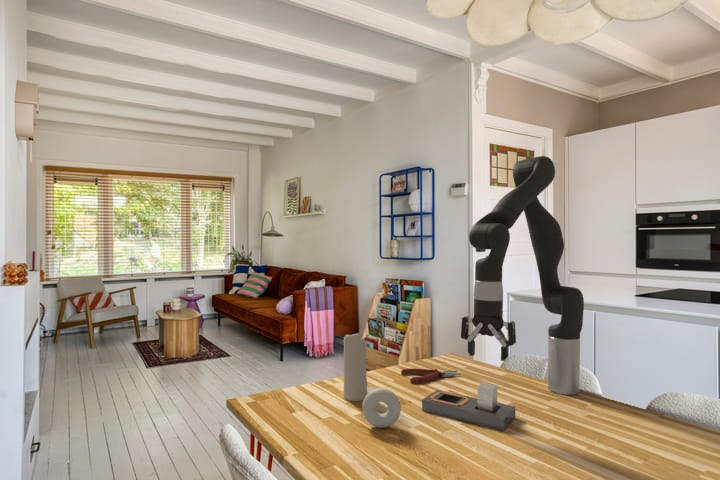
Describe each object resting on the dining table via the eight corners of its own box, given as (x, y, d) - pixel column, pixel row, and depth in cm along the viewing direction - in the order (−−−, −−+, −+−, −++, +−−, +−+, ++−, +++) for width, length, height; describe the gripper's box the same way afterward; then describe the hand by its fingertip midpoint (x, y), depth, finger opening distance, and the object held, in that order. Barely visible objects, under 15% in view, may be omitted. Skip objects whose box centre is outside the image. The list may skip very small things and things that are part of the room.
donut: (400, 425, 116) (401, 386, 116) (401, 430, 113) (401, 391, 113) (362, 423, 117) (362, 385, 117) (361, 429, 114) (361, 390, 114)
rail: (437, 399, 134) (437, 389, 134) (515, 417, 121) (515, 406, 121) (422, 410, 126) (422, 399, 126) (504, 430, 113) (504, 418, 113)
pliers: (467, 381, 153) (466, 373, 153) (411, 385, 148) (411, 378, 148) (452, 371, 164) (452, 364, 164) (400, 375, 159) (400, 368, 159)
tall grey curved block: (382, 389, 143) (382, 327, 143) (358, 403, 131) (359, 335, 131) (363, 385, 147) (363, 324, 147) (338, 398, 135) (339, 332, 135)
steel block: (482, 414, 123) (482, 382, 123) (497, 418, 121) (497, 384, 121) (477, 419, 120) (477, 386, 120) (492, 423, 118) (492, 389, 118)
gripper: (519, 298, 119) (518, 359, 119) (468, 294, 127) (467, 350, 128) (511, 301, 113) (510, 365, 113) (457, 296, 121) (456, 356, 121)
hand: (487, 357), depth 120 cm, fingers open, 8 cm apart
